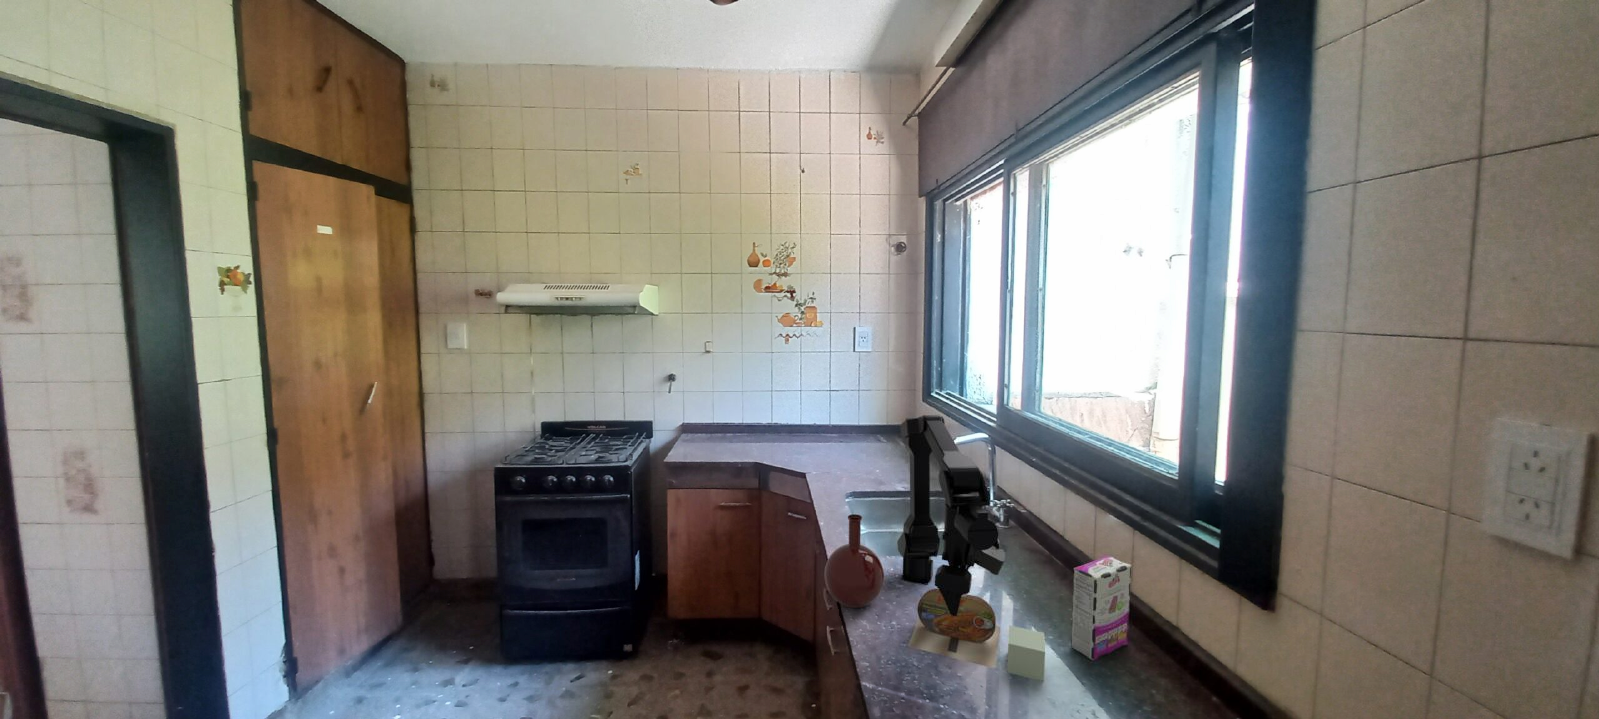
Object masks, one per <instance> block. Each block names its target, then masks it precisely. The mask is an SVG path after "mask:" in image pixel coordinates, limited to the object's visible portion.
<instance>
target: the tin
mask: <svg viewBox="0 0 1599 719" xmlns="http://www.w3.org/2000/svg"><path fill="white" fill-rule="evenodd" d="M916 610H917V615H918V619H920V621H921V622H922V624H923V625H924V626H925V627H926V628H927V629H928V630H930V631H932V632H934V633H937V634H941V635H945V636H950V637H954V638H958V639H963V640H967V641H971V642H978V643H979V642H984V641H986V640H988V639H990V638H991V637H992V635H993V634H994V632H995V628H996V626H997V625H996V624H997V623H996V621H997V620H996V614H995V611H994V609H993V608H992V606H991V605H990V604H989V603H988V602H987V601H986V600H985V599H984V598H981V596H977V595H973V594H969V593H968V594H964V595H962V596H961V600H960V605H959V609H958V613H957V616H952V615H951V614H950V612H949V610H948V607H947V605H946V603H945V601H944V598H943V596H942V594H941V592H940V590H939V589H938V588H932V589H928V590H927V591H926V592H925V593H924V594H923V595H922V596H921V598H920V600H919V601H918V604H917V608H916Z"/></svg>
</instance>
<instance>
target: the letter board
mask: <svg viewBox="0 0 1599 719" xmlns="http://www.w3.org/2000/svg"><path fill="white" fill-rule="evenodd" d="M1000 631H1001V626H997V625H996V628H995V632H994V634H993V635H992V637H991V638H990V639H988V640H986V641H984V642H979V643H978V642H971V641H967V640H963V639H958V638H954V637H950V636H945V635H941V634H937V633H934V632H932V631H930V630H928V629H927V628H926V627H925V626H924V625H923V624H922V622H921V621H920V619H919V618H918V619H917V621H916V623H915V627H914V630H913V632H912V635H911V638H910V640H909V643H908V647H910V648H914V649H918V650H922V651H925V652H930V653H933V654H937V655H940V656H945V657H949V658H953V659H956V660H960V661H964V662H968V663H972V664H975V665H980V666H984V667H987V668H991V669H997V661H998V650H999V641H1000V640H999V639H1000Z"/></svg>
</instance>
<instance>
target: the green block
mask: <svg viewBox="0 0 1599 719" xmlns="http://www.w3.org/2000/svg"><path fill="white" fill-rule="evenodd" d="M1008 626H1009V627H1008V628H1009V629H1008V640H1007V641H1008V644H1007V645H1008V648H1007V666H1006V668H1007V671H1006V672H1007V673H1009V674H1013V675H1017V676H1020V677H1024V678H1030V679H1034V680H1037V681H1041V682H1044V681H1045V680H1044V679H1045V662H1046V658H1045V657H1046V645H1045V644H1046V643H1045V642H1046V641H1045V640H1046V639H1045V632H1042V631H1037V630H1033V629H1028V628H1023V627H1019V626H1015V625H1008Z"/></svg>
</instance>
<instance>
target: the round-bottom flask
mask: <svg viewBox="0 0 1599 719" xmlns="http://www.w3.org/2000/svg"><path fill="white" fill-rule="evenodd" d="M847 519H848V543H847V544H844V545H841V546H839V547H838V548H837V549H835V550H833V552H832V553H831V554H830V556H829V557H828V559H827V561H826V564H825V567H824V581H825V585H826V588H827V590H828V593H829V594H830V596H831V597H832V598H833V600H835V601H836V602H837V603H839V604H841V605H843V606H845V607H848V608H852V609H856V608H857V609H858V608H863V607H867V606H868V605H870V604H871V603H873V602H874V601H875V600H876V599H877V598H878V596H879V595H880V593H881V591H882V590H883V586H884V581H885V573H884V567H883V564H882V563H881V560H880V559H879V557H878V555H877V554H876V553H875V552H874V551H873V550H871V549H870V548H869V547H867V546H865V545H862V544H861V530H862V528H861V526H862V525H861V524H862V523H861V522H862V519H863V516H862V515H860V514H854V513H853V514H849V515H848V516H847Z"/></svg>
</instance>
